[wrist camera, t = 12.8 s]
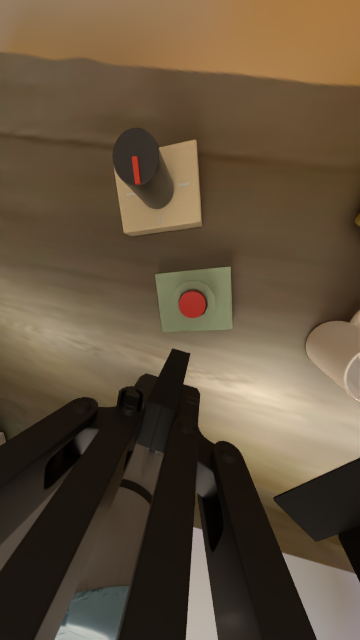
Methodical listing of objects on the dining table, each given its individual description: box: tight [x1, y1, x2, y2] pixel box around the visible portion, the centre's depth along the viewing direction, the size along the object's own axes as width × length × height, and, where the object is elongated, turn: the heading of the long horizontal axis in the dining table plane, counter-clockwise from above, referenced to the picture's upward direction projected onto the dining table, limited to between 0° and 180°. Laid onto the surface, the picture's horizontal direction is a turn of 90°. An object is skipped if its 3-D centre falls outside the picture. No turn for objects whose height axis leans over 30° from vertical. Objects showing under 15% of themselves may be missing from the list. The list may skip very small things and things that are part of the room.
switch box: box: [155, 267, 233, 332], centre depth 31 cm, size 12×10×4 cm
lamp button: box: [179, 290, 206, 318], centre depth 29 cm, size 4×4×2 cm
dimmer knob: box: [113, 128, 174, 209], centre depth 23 cm, size 5×5×8 cm
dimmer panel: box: [113, 140, 202, 236], centre depth 28 cm, size 12×10×3 cm
